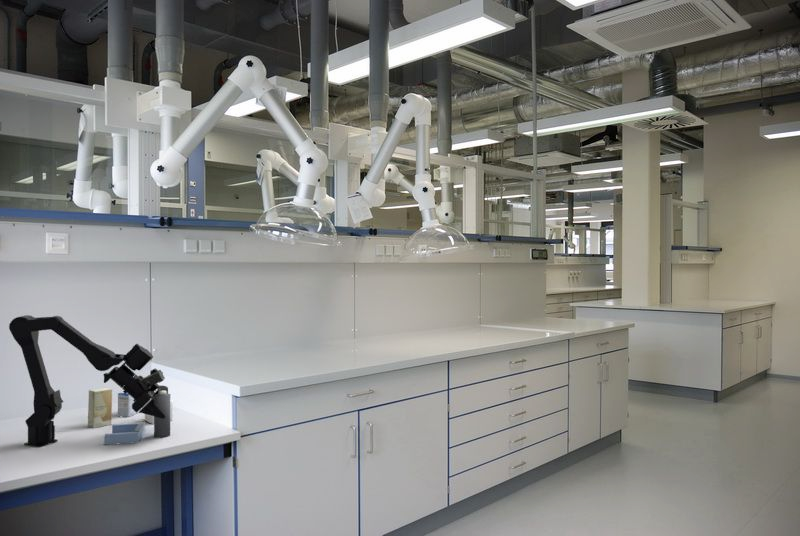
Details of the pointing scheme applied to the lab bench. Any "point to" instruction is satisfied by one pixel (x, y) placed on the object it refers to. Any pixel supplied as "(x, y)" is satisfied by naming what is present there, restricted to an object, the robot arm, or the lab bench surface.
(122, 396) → the medicine box
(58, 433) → the lab bench surface
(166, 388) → the medicine bottle
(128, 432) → the socket cradle
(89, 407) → the skincare box
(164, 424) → the grey cylindrical bottle
